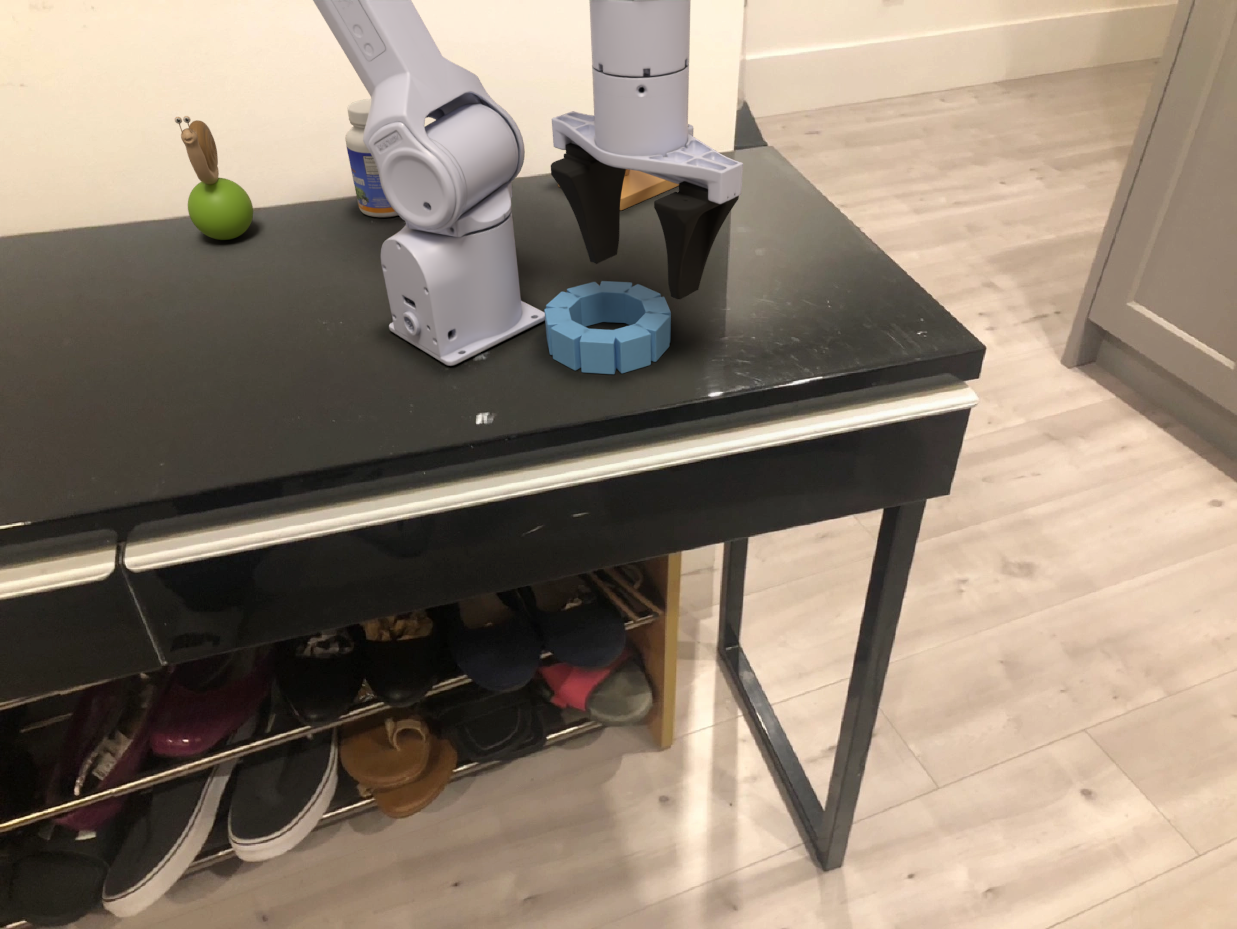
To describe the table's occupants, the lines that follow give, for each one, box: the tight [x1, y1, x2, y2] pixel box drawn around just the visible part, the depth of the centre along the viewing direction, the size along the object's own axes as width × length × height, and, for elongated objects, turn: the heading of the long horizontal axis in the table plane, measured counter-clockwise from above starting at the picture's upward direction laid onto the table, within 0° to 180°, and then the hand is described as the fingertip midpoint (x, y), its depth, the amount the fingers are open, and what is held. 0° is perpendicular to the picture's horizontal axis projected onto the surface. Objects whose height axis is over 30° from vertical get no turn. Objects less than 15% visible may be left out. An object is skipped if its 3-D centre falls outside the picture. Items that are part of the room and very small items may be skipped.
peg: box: [557, 169, 679, 211], centre depth 90 cm, size 9×9×7 cm
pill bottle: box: [344, 98, 399, 218], centre depth 86 cm, size 5×5×10 cm
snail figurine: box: [174, 115, 254, 241], centre depth 80 cm, size 5×6×12 cm
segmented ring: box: [543, 280, 672, 375], centre depth 68 cm, size 9×9×3 cm
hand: (642, 274), depth 62 cm, fingers open, 7 cm apart
